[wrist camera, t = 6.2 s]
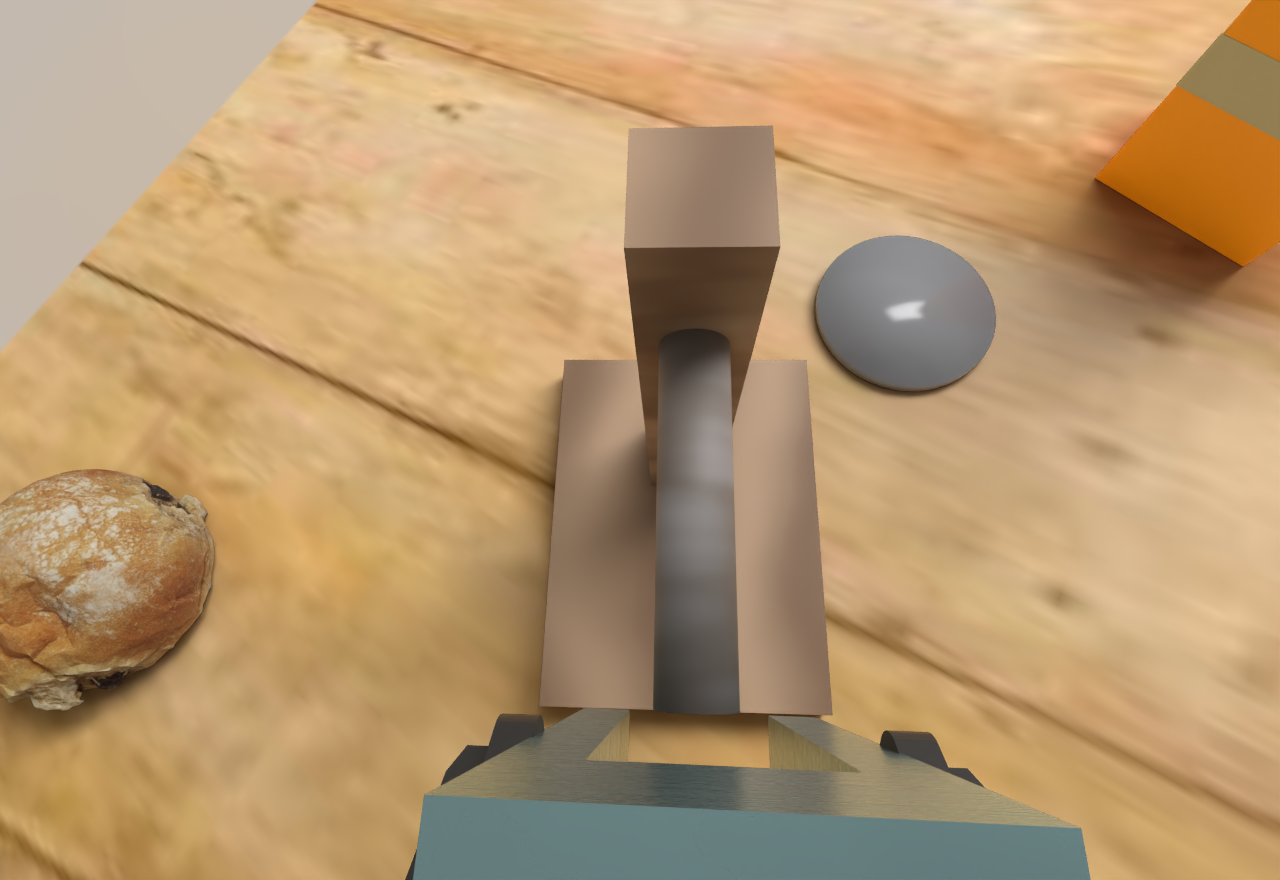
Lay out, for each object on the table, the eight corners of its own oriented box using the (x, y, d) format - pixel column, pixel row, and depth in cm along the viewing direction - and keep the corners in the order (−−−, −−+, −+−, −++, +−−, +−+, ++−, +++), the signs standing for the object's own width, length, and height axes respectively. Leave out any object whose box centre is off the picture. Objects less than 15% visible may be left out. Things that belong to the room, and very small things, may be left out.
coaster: (975, 242, 34) (980, 234, 33) (1003, 391, 31) (1010, 386, 30) (809, 243, 34) (811, 236, 34) (821, 391, 31) (824, 386, 31)
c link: (815, 717, 16) (1082, 829, 5) (825, 902, 14) (1206, 1514, 4) (584, 707, 16) (423, 795, 6) (573, 887, 15) (341, 1413, 4)
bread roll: (287, 571, 33) (232, 477, 27) (111, 763, 26) (-12, 691, 20) (141, 508, 35) (60, 407, 29) (-60, 673, 28) (-219, 583, 22)
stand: (800, 373, 32) (969, 0, 14) (824, 712, 26) (1151, 829, 8) (569, 373, 32) (441, 16, 14) (545, 703, 27) (295, 794, 9)
